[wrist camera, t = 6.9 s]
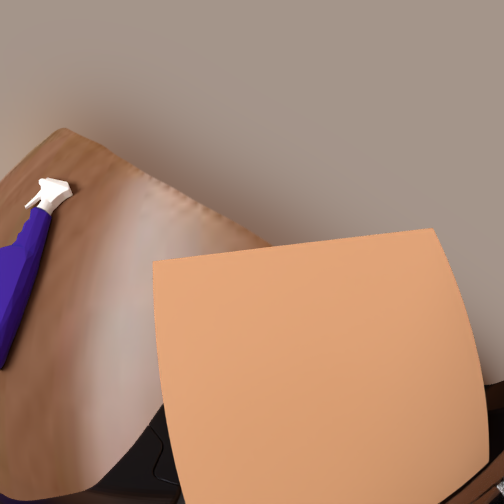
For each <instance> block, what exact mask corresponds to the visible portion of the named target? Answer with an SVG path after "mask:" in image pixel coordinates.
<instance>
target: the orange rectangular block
mask: <svg viewBox="0 0 504 504" xmlns="http://www.w3.org/2000/svg"><path fill="white" fill-rule="evenodd" d="M153 295H154V316H155V331H156V343H157V354H158V364H159V373H160V381H161V389H162V396H163V402H164V409H165V415H166V421H167V426H168V432H169V437H170V442H171V447H172V452H173V456H174V461H175V465H176V469H177V473H178V477H179V481H180V485H181V489H182V492H183V496H184V500H185V503H186V504H438V503H440V502H441V501H443V500H444V499H445V498H447V497H448V496H449V495H451V494H452V493H453V492H455V491H456V490H457V489H458V488H460V487H461V486H462V485H463V484H465V483H466V482H467V481H468V480H469V479H471V478H472V477H473V476H474V475H475V474H476V473H477V472H479V471H480V470H481V469H482V468H483V467H484V466H485V465H486V464H487V463H488V462H489V431H488V416H487V406H486V397H485V390H484V383H483V377H482V372H481V367H480V362H479V357H478V353H477V348H476V344H475V340H474V336H473V332H472V329H471V325H470V322H469V318H468V315H467V312H466V308H465V306H464V302H463V299H462V296H461V294H460V291H459V288H458V285H457V283H456V280H455V277H454V275H453V272H452V270H451V267H450V265H449V263H448V260H447V258H446V255H445V253H444V251H443V248H442V246H441V244H440V242H439V240H438V238H437V235H436V234H435V231H434V229H433V228H428V229H420V230H411V231H402V232H394V233H386V234H377V235H368V236H360V237H351V238H343V239H334V240H326V241H317V242H309V243H301V244H292V245H284V246H276V247H267V248H259V249H251V250H242V251H234V252H226V253H218V254H209V255H201V256H193V257H185V258H177V259H169V260H160V261H153Z"/></svg>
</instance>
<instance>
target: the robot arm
mask: <svg viewBox="0 0 504 504" xmlns="http://www.w3.org/2000/svg"><path fill="white" fill-rule="evenodd" d="M484 390H485V397H486V406H487V416H488V431H489V462H488V463H487V464H486V465H485V466H484V467H483V468H482V469H481V470H480V471H479V472H477V473H476V474H475V475H474V476H473V477H472V478H471V479H469V480H468V481H467V482H466V483H465V484H463V485H462V486H461V487H460V488H458V489H457V490H456V491H455V492H453V493H452V494H451V495H449V496H448V497H447V498H445V499H444V500H443V501H441V502H440V503H438V504H504V381H501V382H499V383H495V384H491V385H484ZM0 504H186V503H185V500H184V496H183V492H182V489H181V485H180V481H179V477H178V473H177V469H176V465H175V461H174V456H173V452H172V447H171V442H170V437H169V432H168V426H167V421H166V415H165V409H164V403H163V404H162V406H161V407H160V409H159V410H158V411H157V413H156V414H155V416H154V417H153V419H152V420H151V422H150V423H149V426H147V427H146V429H145V430H144V432H143V433H142V434H141V436H140V437H139V438H138V440H137V441H136V442H135V444H134V445H133V446H132V447H131V448H130V449H129V451H128V452H127V453H126V454H125V455H124V456H123V457H122V458H121V459H120V461H119V462H118V463H117V464H116V465H115V466H114V467H113V468H112V469H111V470H110V471H109V472H108V473H107V474H106V475H105V476H104V477H103V478H102V479H101V480H100V481H99V482H98V483H97V484H95V485H94V486H93V487H91V488H89V489H87V490H85V491H82V492H78V493H73V494H69V495H64V496H59V497H53V498H47V499H40V500H32V501H20V500H14V499H11V498H8V497H6V496H5V495H3V494H1V493H0Z"/></svg>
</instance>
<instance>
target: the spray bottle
mask: <svg viewBox="0 0 504 504" xmlns="http://www.w3.org/2000/svg"><path fill="white" fill-rule="evenodd" d="M39 185H40V186H41V190H40V192H39V193H38V194H37V195H36V196H35V197H34V198H33V199H32V200H31V201H30V202H29V203H28V204H27V205H26V206H25V208H26V209H28V208H29V207H31V206H32V205H33V204H35V203H36V202H38V201H39V200H40V199H41V202H40V203H39V205H38V206H37V207H34V208H33V209H31V213H30V218H29V219H28V220H27V221H26V222H25V223H24V226H23V229H22V231H21V232H20V233H19V234H18V236H17V240H16V241H15V242H14V243H13V244H12V245H10V246H6V247H2V248H0V369H1V368H2V366H3V365H4V363H5V361H6V358H7V355H8V352H9V350H10V347H11V344H12V342H13V339H14V337H15V334H16V332H17V329H18V327H19V324H20V322H21V319H22V316H23V313H24V310H25V307H26V304H27V302H28V299H29V296H30V294H31V290H32V287H33V284H34V281H35V278H36V275H37V272H38V269H39V263H40V259H41V255H42V251H43V248H44V244H45V241H46V237H47V233H48V229H49V225H50V222H51V218H52V217H51V216H50V215H51V214H52V212H53V210H54V209H56V208H57V207H58V206H59V204H60V203H61V202H63V201H64V200H65V199H66V198H68V197H71V196H72V195H73V194H72V192H71V189H70V187H69V184H68V182H65V181H61V180H56V179H51V178H47V179H40V180H39Z"/></svg>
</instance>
